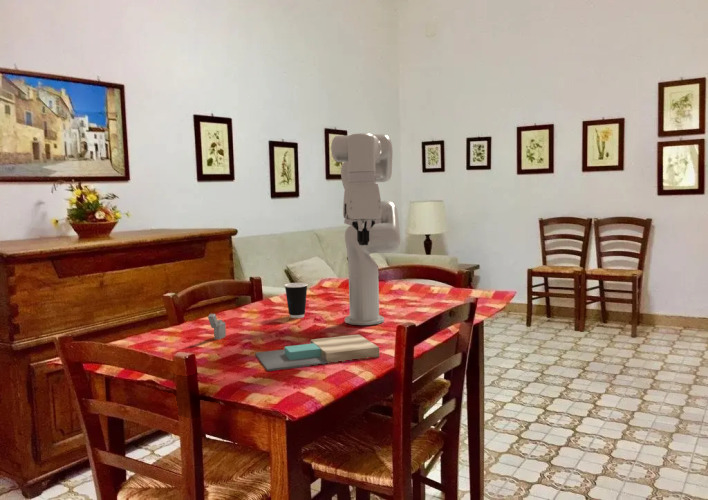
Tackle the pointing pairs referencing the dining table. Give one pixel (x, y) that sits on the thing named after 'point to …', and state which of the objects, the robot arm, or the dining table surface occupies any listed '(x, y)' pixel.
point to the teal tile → (302, 351)
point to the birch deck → (346, 348)
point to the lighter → (217, 327)
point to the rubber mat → (285, 360)
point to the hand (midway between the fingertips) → (363, 244)
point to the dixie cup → (296, 299)
